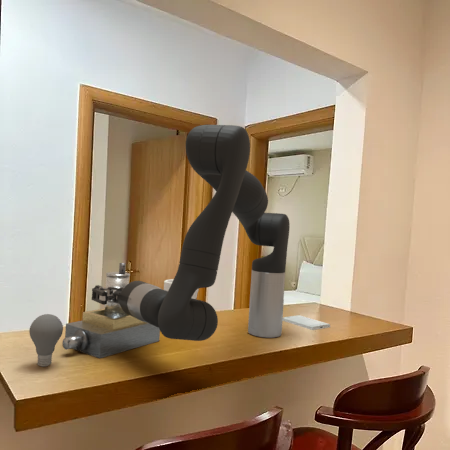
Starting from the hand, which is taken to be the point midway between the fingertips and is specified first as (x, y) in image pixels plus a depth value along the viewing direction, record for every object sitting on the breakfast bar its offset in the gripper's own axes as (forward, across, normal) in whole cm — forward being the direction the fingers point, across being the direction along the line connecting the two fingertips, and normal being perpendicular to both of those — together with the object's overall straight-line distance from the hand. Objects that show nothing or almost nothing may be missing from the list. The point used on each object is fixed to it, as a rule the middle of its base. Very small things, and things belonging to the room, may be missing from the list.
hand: (113, 288), depth 99 cm
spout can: (-2, 0, +8) cm, 8 cm away
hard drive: (-8, -60, +13) cm, 62 cm away
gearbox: (-3, +2, +12) cm, 13 cm away
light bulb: (-10, +18, +13) cm, 24 cm away
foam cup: (+3, -21, +13) cm, 24 cm away
